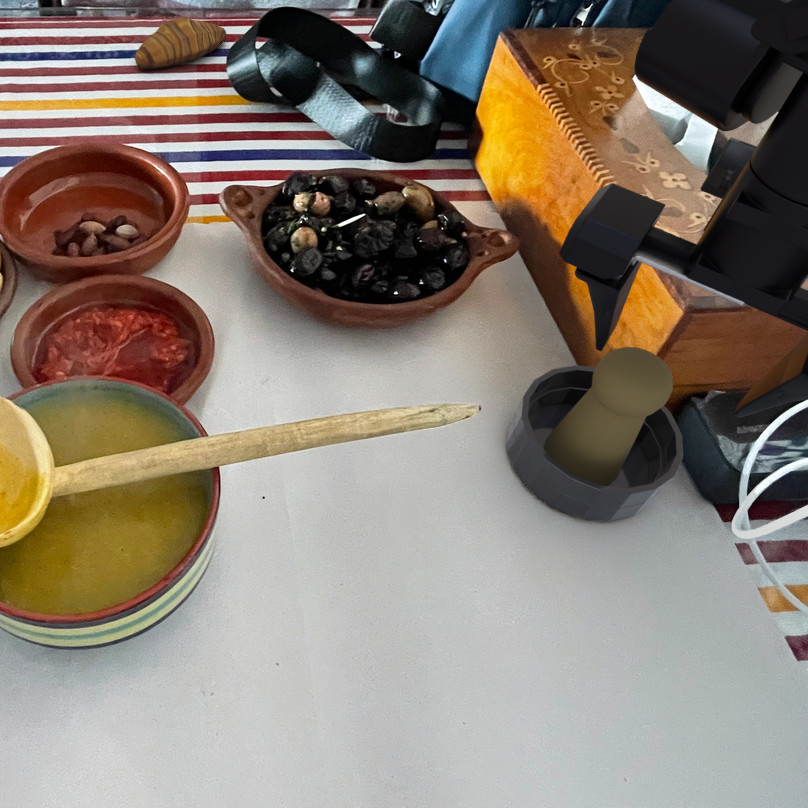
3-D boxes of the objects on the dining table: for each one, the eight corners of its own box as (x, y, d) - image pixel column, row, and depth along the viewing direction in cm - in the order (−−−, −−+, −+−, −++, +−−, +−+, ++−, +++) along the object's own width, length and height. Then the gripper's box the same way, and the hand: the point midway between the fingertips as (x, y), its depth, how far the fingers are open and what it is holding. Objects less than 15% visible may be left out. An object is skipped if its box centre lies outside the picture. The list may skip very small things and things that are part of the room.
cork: (569, 413, 64) (625, 320, 55) (634, 457, 61) (703, 367, 52) (530, 453, 61) (581, 363, 52) (596, 501, 58) (662, 414, 50)
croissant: (153, 84, 93) (150, 43, 89) (123, 60, 96) (119, 20, 92) (240, 54, 99) (241, 14, 95) (210, 32, 102) (209, -7, 98)
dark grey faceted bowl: (675, 447, 63) (702, 414, 59) (625, 553, 56) (652, 523, 53) (540, 378, 67) (558, 343, 63) (479, 470, 60) (495, 436, 57)
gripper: (1031, 174, 39) (839, 372, 51) (674, 55, 45) (578, 257, 58) (1017, 290, 33) (804, 482, 46) (609, 135, 40) (518, 341, 52)
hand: (667, 378), depth 50 cm, fingers open, 9 cm apart
